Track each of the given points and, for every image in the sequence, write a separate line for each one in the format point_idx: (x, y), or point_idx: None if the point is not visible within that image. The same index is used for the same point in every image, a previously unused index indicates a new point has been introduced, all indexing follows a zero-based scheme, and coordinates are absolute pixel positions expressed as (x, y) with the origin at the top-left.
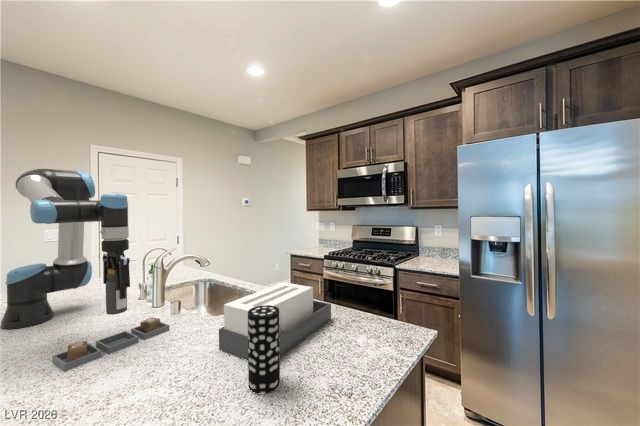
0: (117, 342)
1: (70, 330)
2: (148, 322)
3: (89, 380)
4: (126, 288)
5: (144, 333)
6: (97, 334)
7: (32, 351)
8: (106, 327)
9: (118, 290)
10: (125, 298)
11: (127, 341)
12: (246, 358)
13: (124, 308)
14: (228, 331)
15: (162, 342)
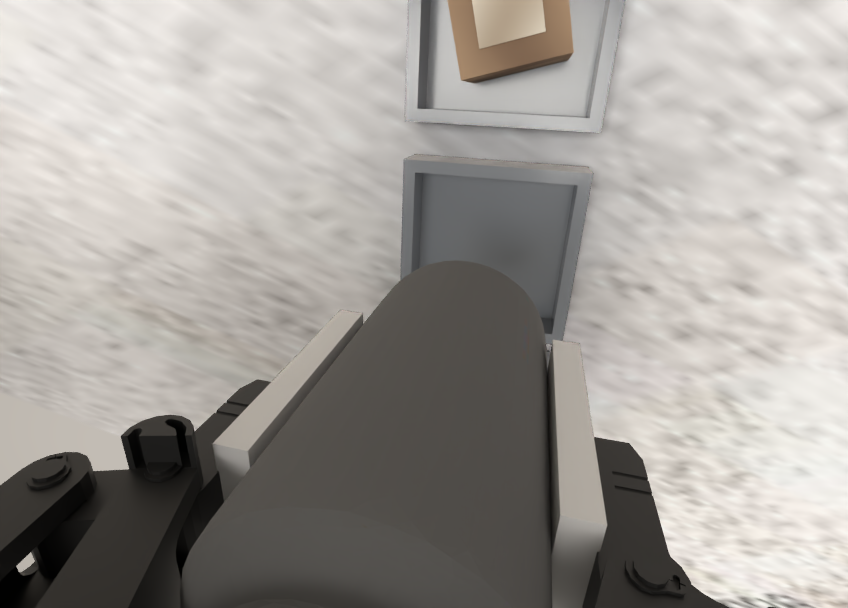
0: (459, 230)
1: (67, 244)
2: (537, 44)
3: (705, 472)
4: (500, 432)
5: (583, 119)
6: (228, 208)
7: (207, 413)
8: (157, 127)
9: (581, 605)
10: (588, 414)
11: (578, 246)
12: None
13: (542, 334)
14: None
15: (751, 70)
